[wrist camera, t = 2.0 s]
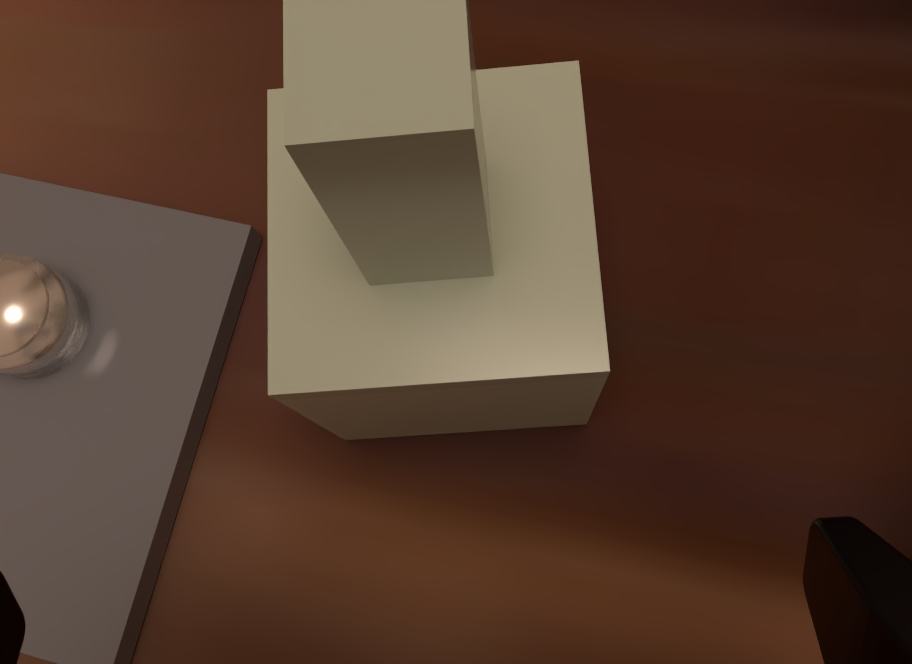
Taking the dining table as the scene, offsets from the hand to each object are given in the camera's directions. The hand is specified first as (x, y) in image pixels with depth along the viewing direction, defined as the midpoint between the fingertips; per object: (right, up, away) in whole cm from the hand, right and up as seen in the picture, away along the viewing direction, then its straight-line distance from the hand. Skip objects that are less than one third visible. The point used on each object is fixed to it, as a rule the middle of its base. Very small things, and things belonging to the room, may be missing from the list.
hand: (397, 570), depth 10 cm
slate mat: (-11, +1, +14) cm, 18 cm away
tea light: (-11, +3, +14) cm, 18 cm away
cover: (+1, +3, +14) cm, 14 cm away
